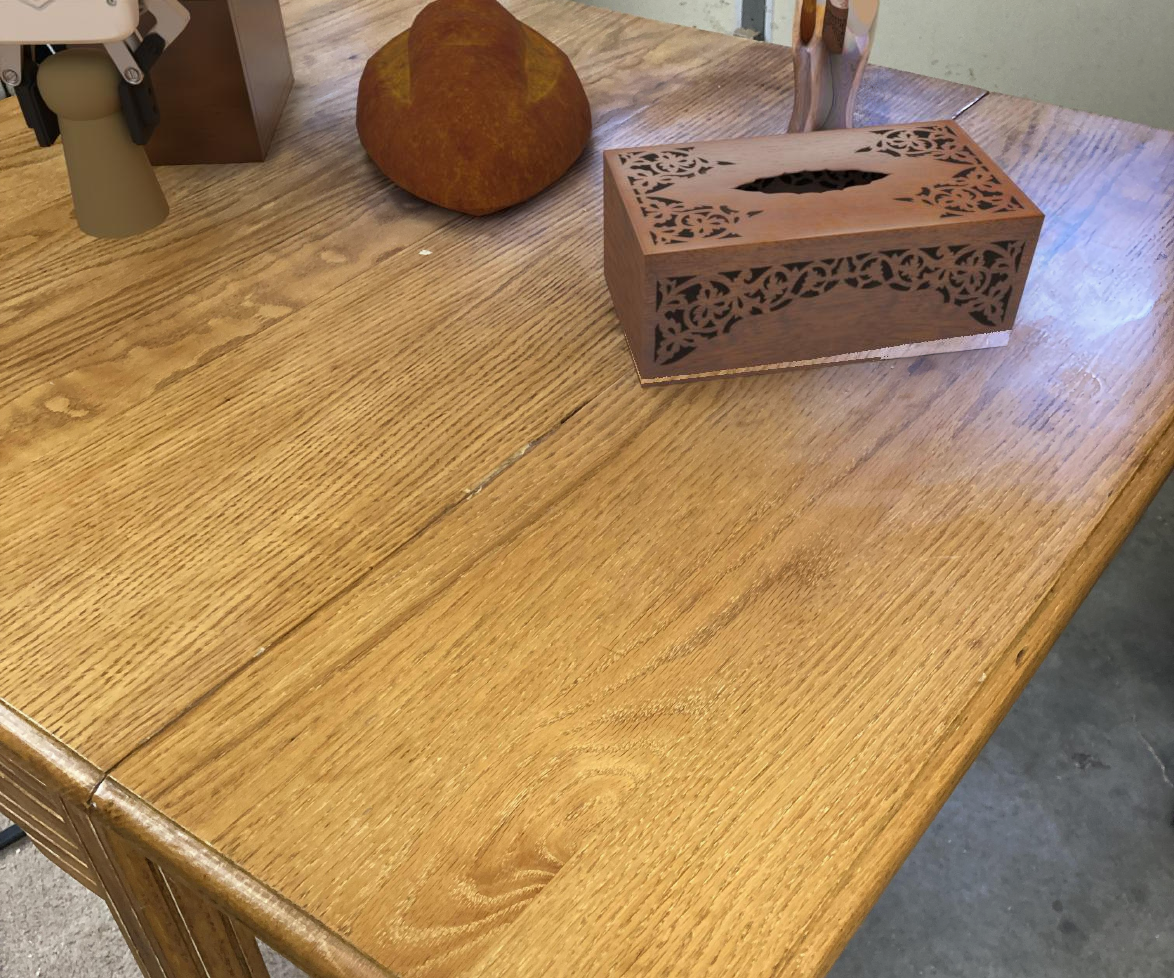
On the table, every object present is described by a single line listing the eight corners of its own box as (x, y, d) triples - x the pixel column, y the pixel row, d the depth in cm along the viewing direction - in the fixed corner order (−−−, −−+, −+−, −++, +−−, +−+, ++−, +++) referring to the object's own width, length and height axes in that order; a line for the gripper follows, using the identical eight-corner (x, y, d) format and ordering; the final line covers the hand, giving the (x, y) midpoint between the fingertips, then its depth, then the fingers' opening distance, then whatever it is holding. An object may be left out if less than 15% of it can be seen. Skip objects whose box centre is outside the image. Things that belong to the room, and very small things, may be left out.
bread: (338, 238, 90) (310, 87, 81) (378, 75, 114) (359, -54, 105) (600, 229, 90) (599, 77, 82) (585, 69, 114) (582, -61, 106)
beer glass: (766, 132, 103) (783, -41, 92) (833, 120, 104) (857, -51, 94) (803, 164, 98) (826, -15, 88) (873, 150, 99) (902, -26, 89)
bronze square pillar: (105, 167, 100) (45, -15, 89) (156, 84, 113) (109, -83, 103) (263, 162, 100) (222, -21, 89) (294, 79, 113) (262, -88, 103)
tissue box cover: (927, 241, 88) (953, 119, 81) (1007, 346, 77) (1045, 215, 70) (603, 274, 85) (603, 150, 78) (641, 387, 74) (644, 255, 68)
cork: (175, 228, 75) (129, 66, 67) (80, 246, 73) (23, 81, 66) (164, 188, 79) (121, 31, 72) (74, 203, 77) (20, 44, 70)
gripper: (-195, -165, 57) (-57, 166, 69) (144, -167, 58) (221, 162, 70) (-132, -198, 62) (-14, 114, 75) (177, -200, 63) (243, 110, 75)
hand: (98, 134), depth 72 cm, fingers closed on cork, 5 cm apart
